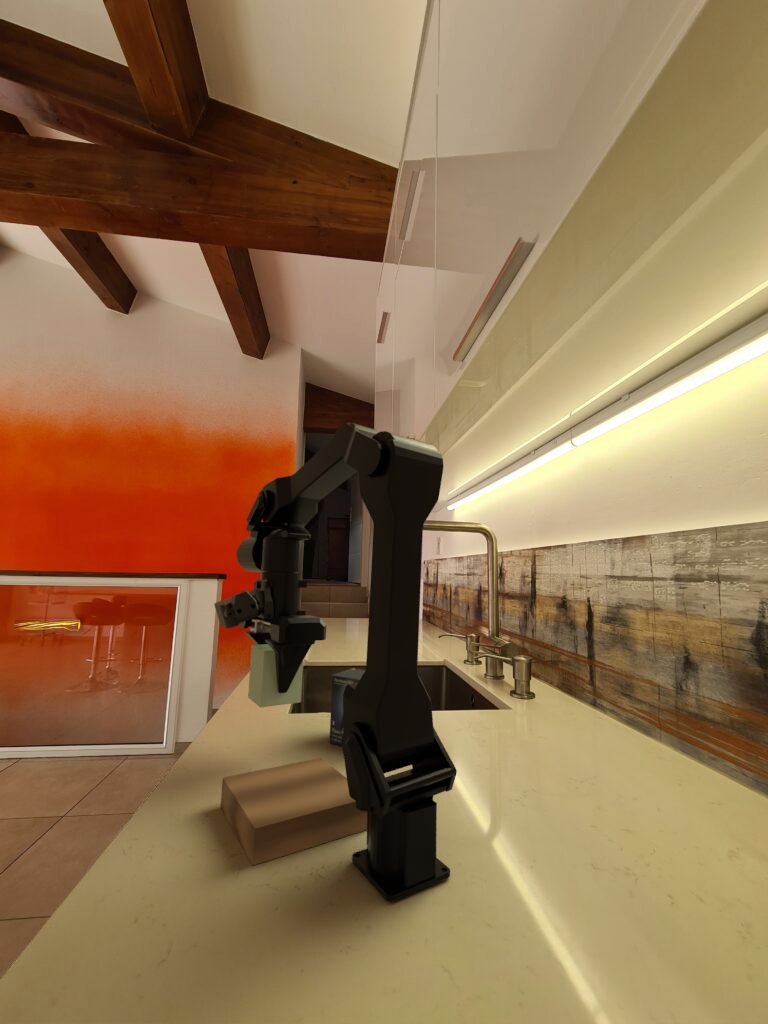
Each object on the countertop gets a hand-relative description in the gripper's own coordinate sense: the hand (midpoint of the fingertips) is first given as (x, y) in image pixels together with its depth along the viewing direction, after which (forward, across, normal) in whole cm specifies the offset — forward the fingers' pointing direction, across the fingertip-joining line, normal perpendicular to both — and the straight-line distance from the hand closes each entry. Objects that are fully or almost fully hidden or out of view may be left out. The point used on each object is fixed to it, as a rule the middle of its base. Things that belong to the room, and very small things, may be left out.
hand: (274, 687), depth 62 cm
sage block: (+2, 0, 0) cm, 2 cm away
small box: (+11, -2, +16) cm, 19 cm away
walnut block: (+10, +13, -2) cm, 17 cm away
